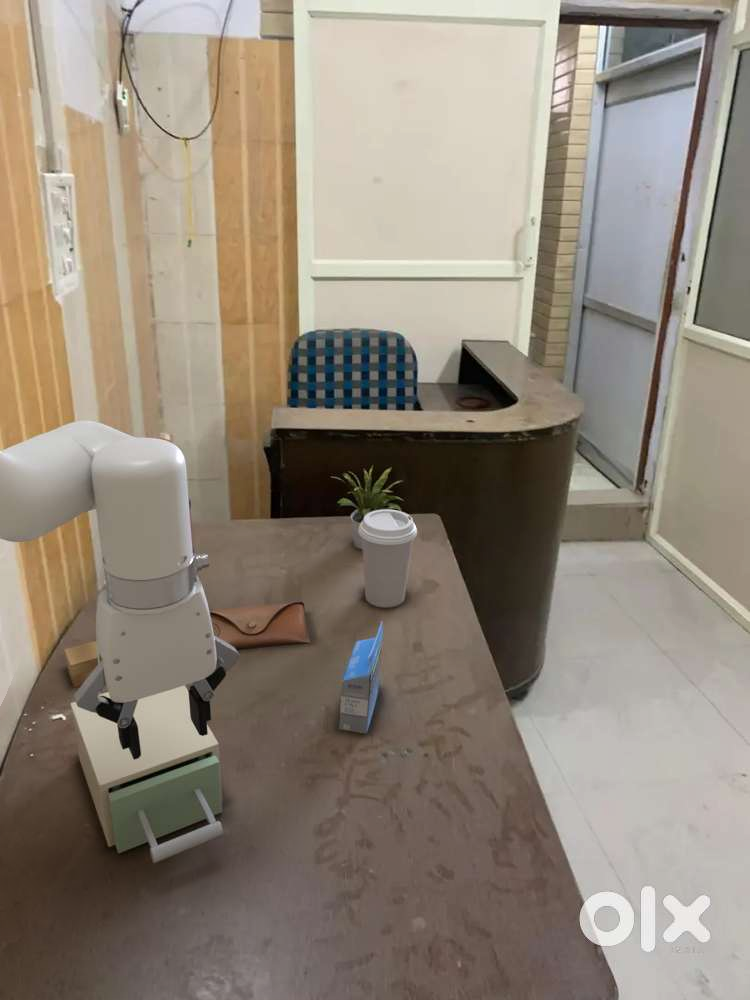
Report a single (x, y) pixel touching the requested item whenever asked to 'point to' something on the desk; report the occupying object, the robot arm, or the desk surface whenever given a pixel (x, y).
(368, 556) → the coffee cup
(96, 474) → the robot arm
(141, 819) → the drawer
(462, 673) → the desk surface
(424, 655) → the desk surface
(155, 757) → the cabinet
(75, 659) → the block
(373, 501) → the house plant
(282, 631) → the sunglasses case
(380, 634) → the label tape box
